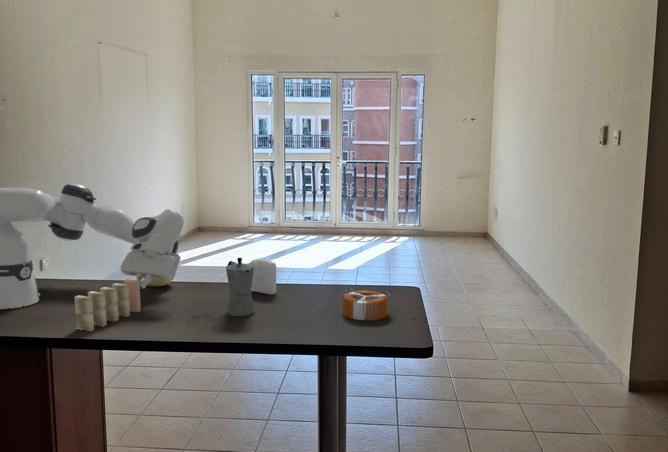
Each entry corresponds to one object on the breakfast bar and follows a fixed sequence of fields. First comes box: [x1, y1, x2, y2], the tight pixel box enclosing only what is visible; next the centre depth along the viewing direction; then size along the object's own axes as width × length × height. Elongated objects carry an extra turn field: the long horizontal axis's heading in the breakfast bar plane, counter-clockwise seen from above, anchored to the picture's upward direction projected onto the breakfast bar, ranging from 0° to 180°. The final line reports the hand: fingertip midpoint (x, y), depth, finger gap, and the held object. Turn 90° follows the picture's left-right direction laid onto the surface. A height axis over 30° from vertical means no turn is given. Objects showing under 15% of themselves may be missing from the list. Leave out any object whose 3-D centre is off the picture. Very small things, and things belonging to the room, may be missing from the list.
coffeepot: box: [225, 257, 255, 317], centre depth 186 cm, size 15×9×18 cm, turn 33°
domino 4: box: [111, 282, 131, 318], centre depth 182 cm, size 5×2×10 cm, turn 68°
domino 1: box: [74, 294, 95, 332], centre depth 168 cm, size 5×2×10 cm, turn 68°
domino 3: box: [99, 286, 120, 323], centre depth 177 cm, size 5×2×10 cm, turn 68°
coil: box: [341, 287, 391, 322], centre depth 185 cm, size 7×15×15 cm
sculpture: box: [143, 275, 176, 287], centre depth 216 cm, size 11×12×11 cm
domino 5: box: [123, 278, 142, 313], centre depth 186 cm, size 5×2×10 cm, turn 68°
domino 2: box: [87, 290, 108, 327], centre depth 173 cm, size 5×2×10 cm, turn 68°
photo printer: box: [249, 258, 277, 295], centre depth 209 cm, size 10×4×12 cm, turn 60°
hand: (139, 287), depth 189 cm, fingers closed
